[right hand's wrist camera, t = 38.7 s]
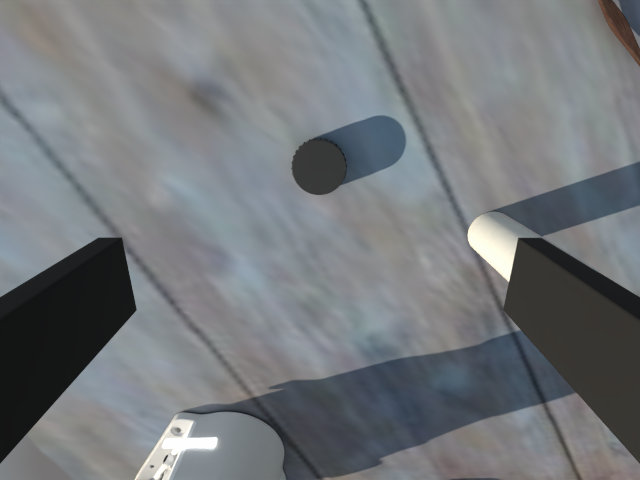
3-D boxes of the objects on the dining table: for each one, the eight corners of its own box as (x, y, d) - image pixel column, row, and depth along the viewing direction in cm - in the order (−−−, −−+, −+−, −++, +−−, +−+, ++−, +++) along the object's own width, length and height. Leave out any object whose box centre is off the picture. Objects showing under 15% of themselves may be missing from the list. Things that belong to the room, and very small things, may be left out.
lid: (291, 189, 37) (290, 194, 36) (293, 136, 35) (292, 137, 34) (343, 193, 37) (344, 197, 36) (348, 139, 36) (349, 141, 34)
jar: (506, 204, 38) (614, 262, 24) (517, 243, 39) (625, 319, 25) (462, 222, 38) (543, 289, 25) (474, 259, 40) (556, 342, 26)
